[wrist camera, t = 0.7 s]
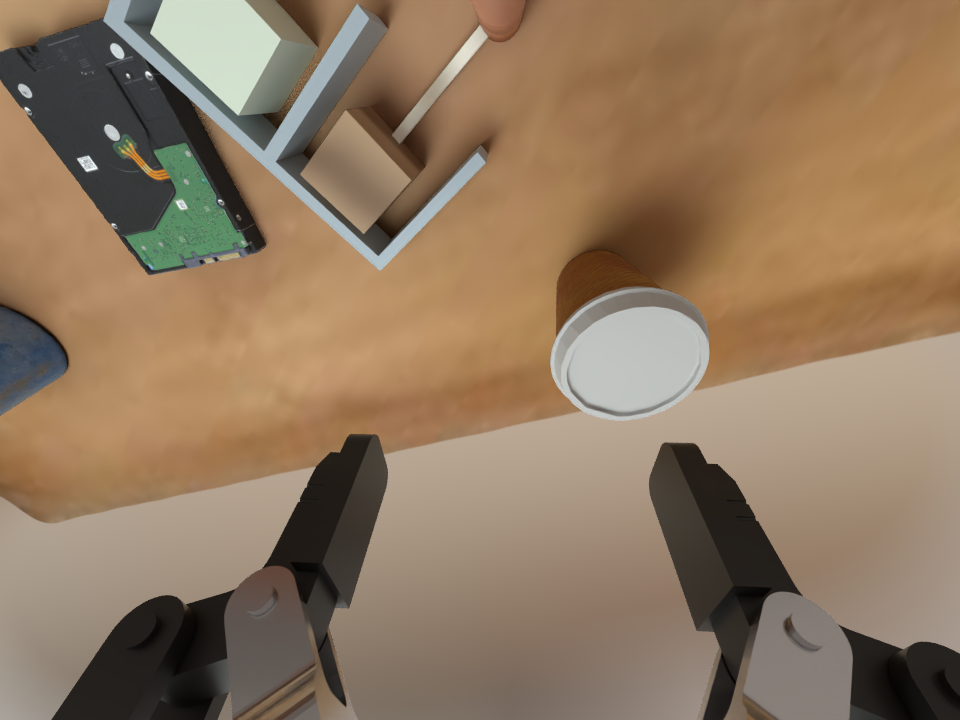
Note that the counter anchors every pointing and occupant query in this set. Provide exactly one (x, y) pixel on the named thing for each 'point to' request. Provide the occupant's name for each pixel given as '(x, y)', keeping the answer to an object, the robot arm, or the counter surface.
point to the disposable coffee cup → (624, 340)
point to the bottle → (26, 359)
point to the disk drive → (132, 147)
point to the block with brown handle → (392, 134)
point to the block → (237, 49)
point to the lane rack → (294, 119)
